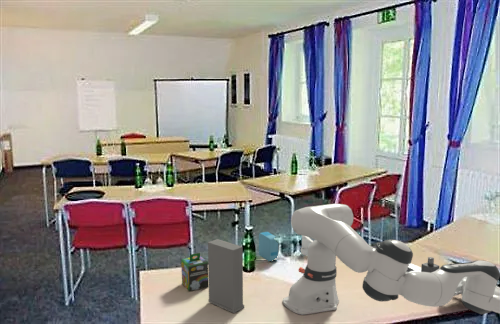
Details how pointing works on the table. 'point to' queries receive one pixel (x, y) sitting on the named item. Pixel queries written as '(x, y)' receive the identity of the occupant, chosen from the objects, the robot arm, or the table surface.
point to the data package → (268, 246)
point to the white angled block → (305, 245)
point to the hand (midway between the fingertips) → (442, 277)
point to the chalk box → (194, 272)
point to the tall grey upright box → (225, 275)
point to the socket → (413, 268)
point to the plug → (429, 266)
